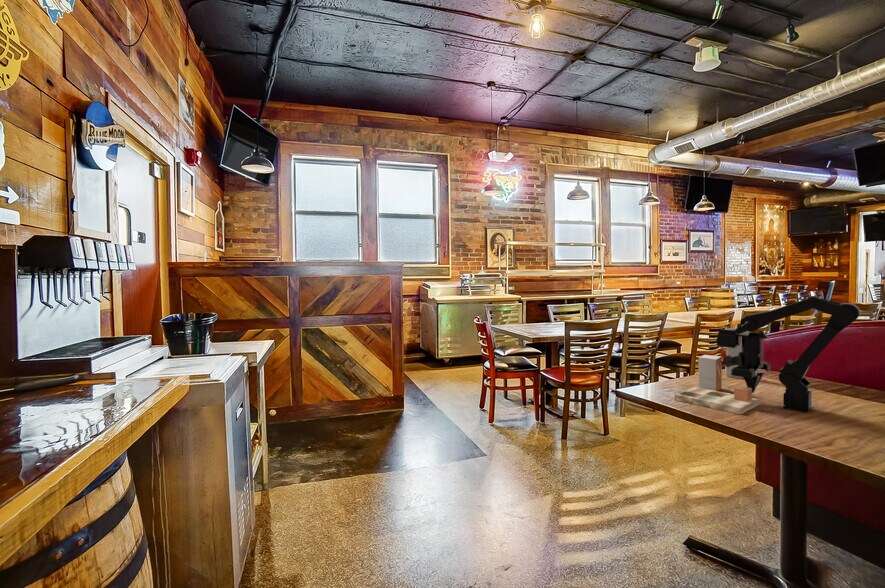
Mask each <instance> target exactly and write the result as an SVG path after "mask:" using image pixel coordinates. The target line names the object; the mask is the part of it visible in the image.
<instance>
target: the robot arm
mask: <svg viewBox="0 0 885 588" xmlns="http://www.w3.org/2000/svg"><path fill="white" fill-rule="evenodd" d="M860 309H861V308H860V307H859V306H858V305H856V304H855V303H852V302H844V303H841V302H838V301H833V300H830V299H825V298H823V297H820V296H817V295H813V296H809V297H807V298H805V299H803V300H800V301H797V302H794V303H793V302H792V303H790V304H787V305H785V306H781V307H778V308H775V309H773V310H769V311H764V312H757V313H749V314H748V315H744V316H743V317H742V318H740V323H739V326H738V328H737V327H735V328H736V330H728V328H727V329H726V328H718V333H717V336H716V345H717V347H720V348H726V347H728V348H737V345H738V346H740V344H741V337H742V352H740V353H739V355H738V356H733V357H731V356H730V355H728V356H727V355H724V356H723V359H722V364H724V366H725V365H726V367H730V366H733V365H738V366H737V367H734V368H733V369H731V375H734V376H740V377H743V378H742V379H744V381H745V384H746V387H748V388H752V394H753V393H754V392H755V391H756V389H757V388H758V385H759V384H760V382H761V381H762V379H763V377H764V375H765V373H763V372H761V370H765V371H766V372H770V371H772V365H771V363H769V362H768V361H762V357H763V356H764V352H762V339H768V338H769V335H768V334H767V333H765V331H764V330H760V331H759V332H755V331H757V330H759V329H761V328H763V327H765V326H767V325H770V324H771V323H773V322H776V321H779V320H782V319H784V318H789V317H791V316H795V315H797V314H801V313H804V312H807V311H809V310H816V311H819V312H821V313H825V314H827V315H830V317H829V319H828V321H827V323H826V326H825V327H824V328H823V329H822V330H821V332H820V333H818V335H817V336H816V337H815V338H814V339H813V341H812V342H811V343H810V344H809V345H808V346H807V348H806V349H805V350H804V351H803V352H802V353H801V355H800V356H798V358H796V359H795V360H794V361H793V360H792V359H788V360H787V361H786V362H785V364H784V366H783V367H781V368H780V369H779V370H778V373H779V374H778V380H779V383H781V384H782V385H783V386H784V387H785V391H784V392H783V395H782V396H783V397H782V398H783V400H782V401H783V408H784V409H787V410H791V411H792V410H793V411H798V412H803V413H809V412H811V411H812V410H813V409H814V407H813V406H812V401H813V400H812V394H813V393H812V390H810V388H811V386H812V382H810V381H809V380H808V379H807V378H805V375H806V374H807V373H808V372H807V371H808V370H809V368H810V366H811V365H812V363H814V361H815V360H816V359H817V357H818V356H819V355H820V354H821V353H822V352H823V351H824V350H825V349H826V347H827V346H829V344H830V343H831V342H832V341H833V340H834V338H835V337H837V335H838V334H839V333H840V332H842V331H843V330H844V329H846V328H847V327H849V326H850V325H851V324H852V323H854V322H855V321H856V320H857V319H858V318H859V317H860V315H861V310H860ZM746 331H750V333H749V335H746V334H741V333H744V332H746Z"/></svg>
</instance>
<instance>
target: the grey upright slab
mask: <svg viewBox="0 0 885 588" xmlns="http://www.w3.org/2000/svg"><path fill="white" fill-rule="evenodd" d="M738 327H739V326H738ZM738 327H730V328H727V329H728V330H736V328H738ZM749 333H750V331H746V332H744V333H741V334H746V335H749ZM725 349H726V353H725V354H726V355H725V356H728V355H730V356H731V357H733V356H738V355H739V353H740V352H742V337H741V344H740V346H738V345H737V348H728V347H725ZM724 366H725V367H724V369H725V370H724V371H725V372H724V373H725V375H724V376H725V377H726V378H733V379H734V378H735V379H744V378H743V377H740V376H734V375H731V369H733V368H734V367H737V366H738V365H733V366H730V367H726V365H725V364H724Z"/></svg>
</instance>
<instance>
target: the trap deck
mask: <svg viewBox="0 0 885 588" xmlns="http://www.w3.org/2000/svg"><path fill="white" fill-rule="evenodd" d="M760 400H761V399H760V398H755V397H752V400H750V401H748V402H746V401H741V400H736V399H734V393H729V392H723V391H720V390H718V391H714V390H708V389H703V388H698V387H696V386H694V387H692V388H689V389H686V390H684V391H681V392H678V393H675V394H674V401H677V402H678V401H679V402H683V403H688V404H690V405H691V404H692V405H697V406H701V407H704V408H705V407H706V408H710V409H715V410H719V411H722V412H724V411H725V412H729V413H733V414H738V415H742V414H744V413H746V412H748V411H750V410H752V409H754V408H756V407H759V406H760V405H761V401H760Z"/></svg>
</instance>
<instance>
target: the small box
mask: <svg viewBox="0 0 885 588" xmlns="http://www.w3.org/2000/svg"><path fill="white" fill-rule="evenodd" d="M722 358H723V356H719V355H711V354H703V355H700V356H699V357H698V388H703V389H708V390H714V391H720V390H722V387H723V386H722V383H723V381H722V378H723V377H722V375H723V373H722V371H723V370H722V369H723V367H722V366H723V365H722V364H723V363H722V362H723V359H722Z"/></svg>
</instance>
